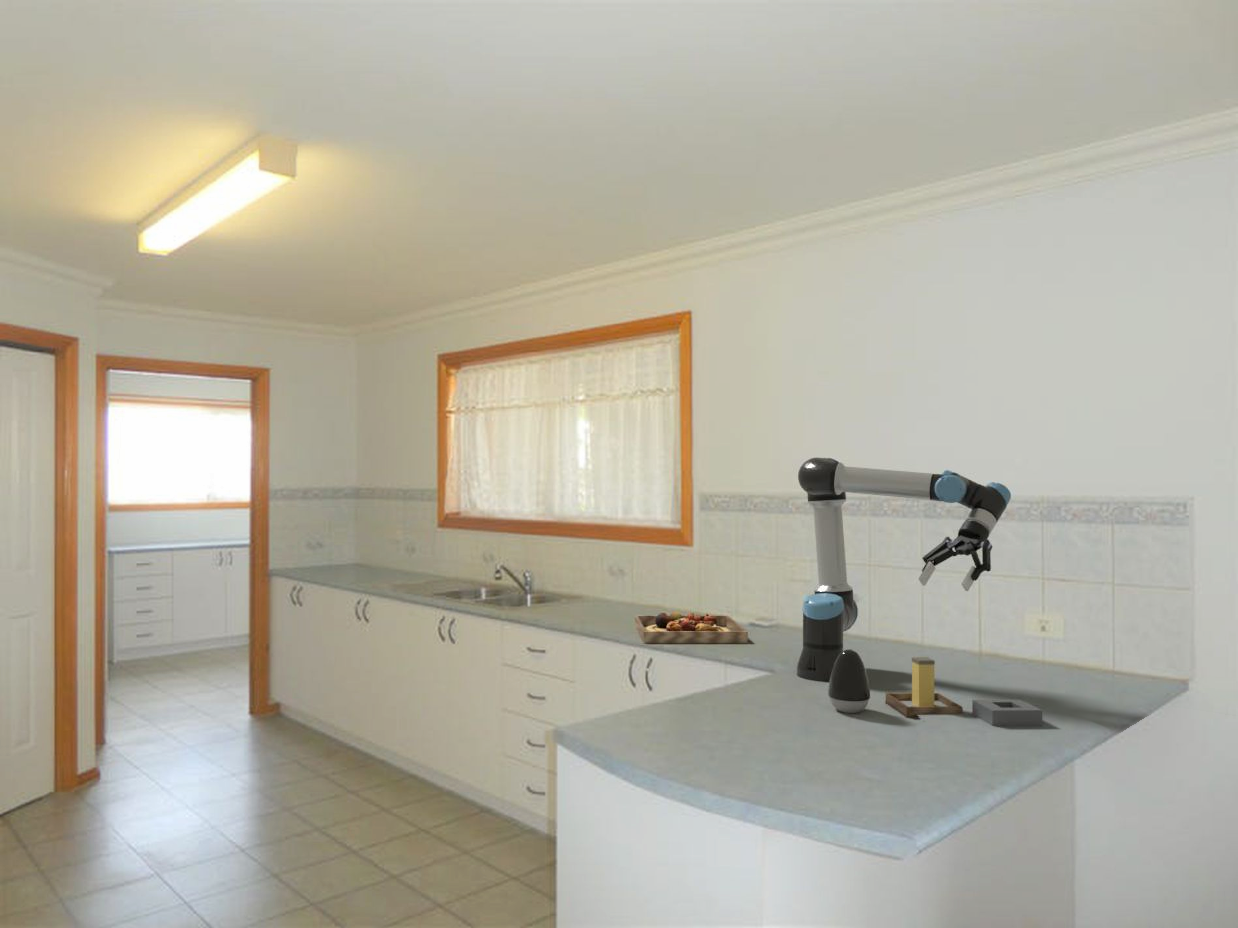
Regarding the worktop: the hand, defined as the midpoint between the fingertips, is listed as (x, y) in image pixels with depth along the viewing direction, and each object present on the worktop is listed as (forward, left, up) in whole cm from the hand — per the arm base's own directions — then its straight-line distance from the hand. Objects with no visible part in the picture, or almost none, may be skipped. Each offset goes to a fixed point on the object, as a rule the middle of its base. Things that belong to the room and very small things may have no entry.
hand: (942, 585), depth 238 cm
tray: (-12, -16, -30) cm, 36 cm away
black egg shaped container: (-31, -16, -30) cm, 46 cm away
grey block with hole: (+3, -29, -30) cm, 41 cm away
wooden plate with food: (-56, +93, -30) cm, 113 cm away
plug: (-12, -15, -29) cm, 35 cm away
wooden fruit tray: (-56, +93, -30) cm, 113 cm away
